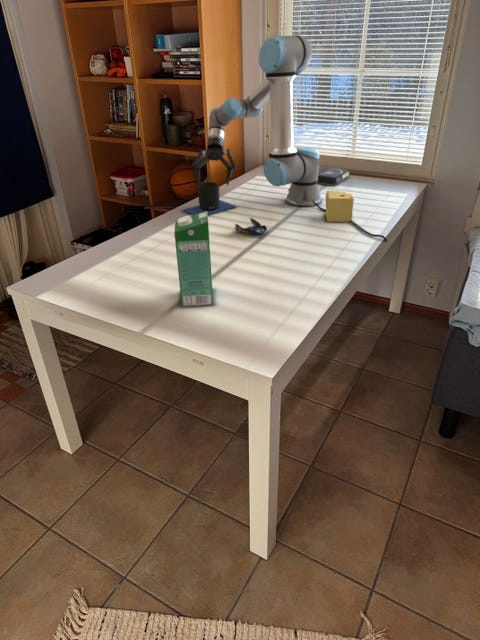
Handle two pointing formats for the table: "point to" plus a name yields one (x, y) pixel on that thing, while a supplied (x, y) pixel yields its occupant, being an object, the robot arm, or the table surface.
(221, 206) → the blue cloth
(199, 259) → the milk carton
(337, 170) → the portable cd player
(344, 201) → the cheese
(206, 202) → the pen holder
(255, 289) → the table surface
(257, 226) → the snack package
